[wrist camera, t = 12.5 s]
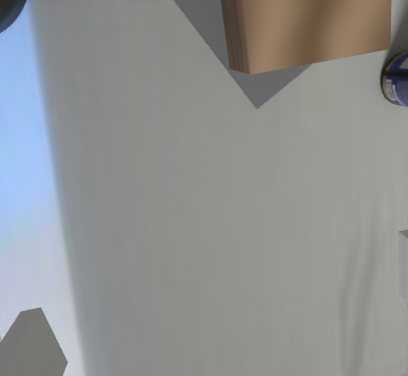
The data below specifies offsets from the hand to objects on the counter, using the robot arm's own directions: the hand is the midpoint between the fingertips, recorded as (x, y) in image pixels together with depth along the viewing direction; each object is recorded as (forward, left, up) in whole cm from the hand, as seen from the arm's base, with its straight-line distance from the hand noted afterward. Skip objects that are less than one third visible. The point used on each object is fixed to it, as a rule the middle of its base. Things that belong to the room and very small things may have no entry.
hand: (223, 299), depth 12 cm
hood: (-5, +15, -30) cm, 34 cm away
